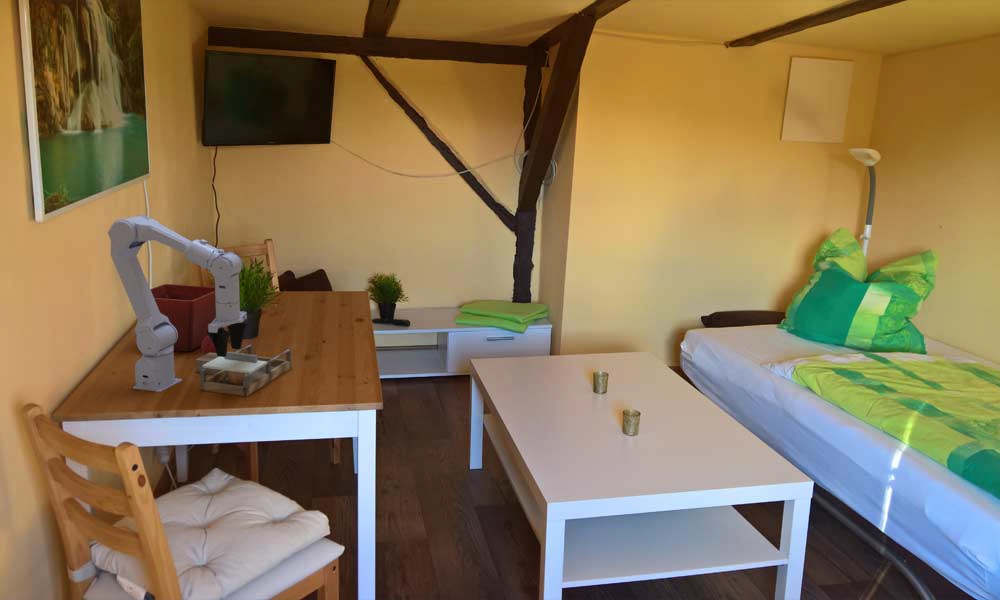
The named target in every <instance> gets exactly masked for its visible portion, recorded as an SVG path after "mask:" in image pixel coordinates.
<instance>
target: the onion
mask: <svg viewBox="0 0 1000 600" xmlns="http://www.w3.org/2000/svg"><path fill="white" fill-rule="evenodd" d="M200 349H201V351H202V353H203V354H204V355H206V354H208V353H216V350H215V347H214V344H213V342H212V340H211V338H210V337H209V335H208V336H206V337H205V338H204V339H203V341H202V344H201V346H200Z"/></svg>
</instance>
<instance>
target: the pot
mask: <svg viewBox="0 0 1000 600" xmlns="http://www.w3.org/2000/svg"><path fill="white" fill-rule="evenodd" d="M244 375H246V373H242V372H234V371H228V383H229V384H232V385H240V386H243V376H244Z"/></svg>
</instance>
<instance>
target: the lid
mask: <svg viewBox="0 0 1000 600" xmlns="http://www.w3.org/2000/svg"><path fill="white" fill-rule="evenodd" d="M236 352H237V351H235V352H233V351H227V354H226V357H217V358H215V359H214V360H212V361H210V362H208V363H206V364H204V365H202V367H203V368H211V369H218V370H226V371H234V372H242V373H250V374H251V373H253V372H254V371H256V370H258V369H259V368H261V367H263V366H264V365H266V364H267V361H259V360H257V356H258V354H253V353H252V354H247V353H242V352H239V353H236Z"/></svg>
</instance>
